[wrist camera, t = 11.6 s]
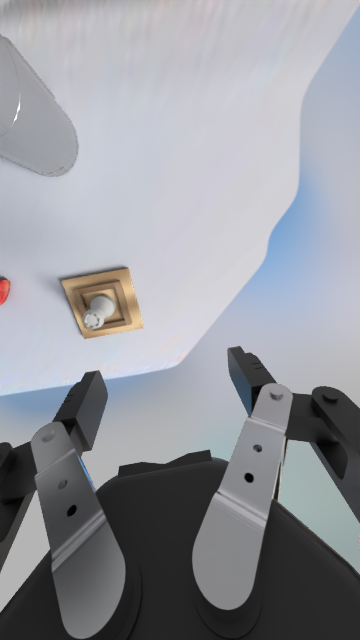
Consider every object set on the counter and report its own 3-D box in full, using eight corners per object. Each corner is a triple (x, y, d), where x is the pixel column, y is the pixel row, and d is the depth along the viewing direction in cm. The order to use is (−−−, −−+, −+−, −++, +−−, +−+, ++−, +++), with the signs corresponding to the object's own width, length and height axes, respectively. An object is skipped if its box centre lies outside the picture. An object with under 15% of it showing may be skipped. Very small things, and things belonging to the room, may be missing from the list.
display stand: (64, 279, 39) (58, 282, 37) (128, 267, 39) (126, 270, 37) (86, 336, 44) (82, 341, 41) (143, 325, 44) (142, 330, 42)
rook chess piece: (105, 288, 39) (93, 302, 32) (121, 307, 41) (112, 324, 33) (86, 301, 39) (70, 318, 32) (102, 319, 41) (90, 339, 34)
